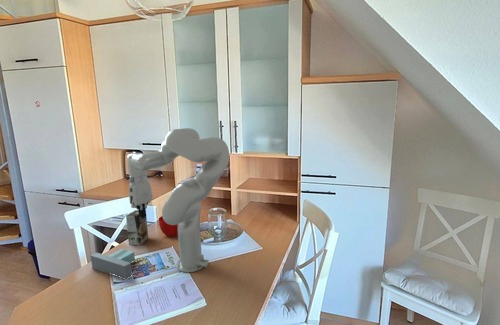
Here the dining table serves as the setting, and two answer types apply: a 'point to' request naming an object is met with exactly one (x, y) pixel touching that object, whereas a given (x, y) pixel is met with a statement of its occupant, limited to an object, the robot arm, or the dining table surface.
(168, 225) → the ceramic cup
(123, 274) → the board
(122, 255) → the block
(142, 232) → the coffee box
